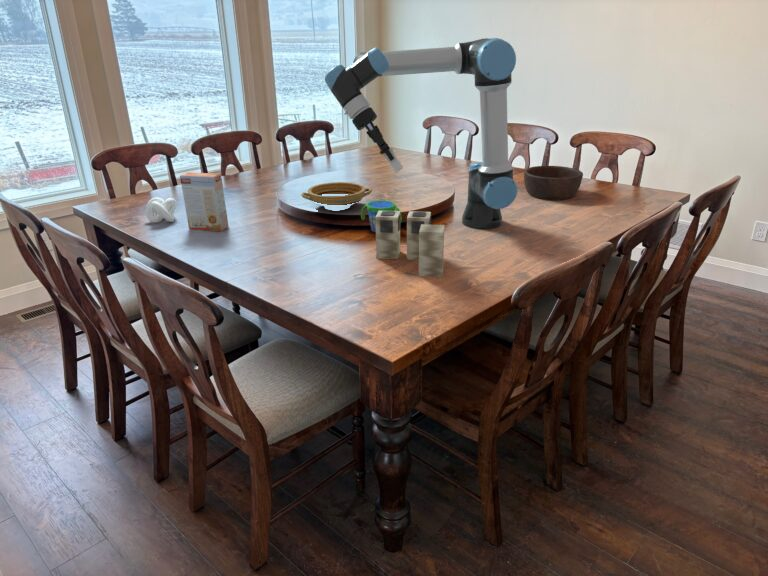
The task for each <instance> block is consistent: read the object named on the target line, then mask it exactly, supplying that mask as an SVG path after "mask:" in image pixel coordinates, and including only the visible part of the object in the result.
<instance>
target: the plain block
mask: <svg viewBox="0 0 768 576" xmlns="http://www.w3.org/2000/svg"><path fill="white" fill-rule="evenodd" d="M444 241H445V224H431V225H427V224H421V227H420V231H419V260H418V277H437V278H442V277H443V273H444V253H445V252H444V249H445V247H444V246H445V242H444Z"/></svg>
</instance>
